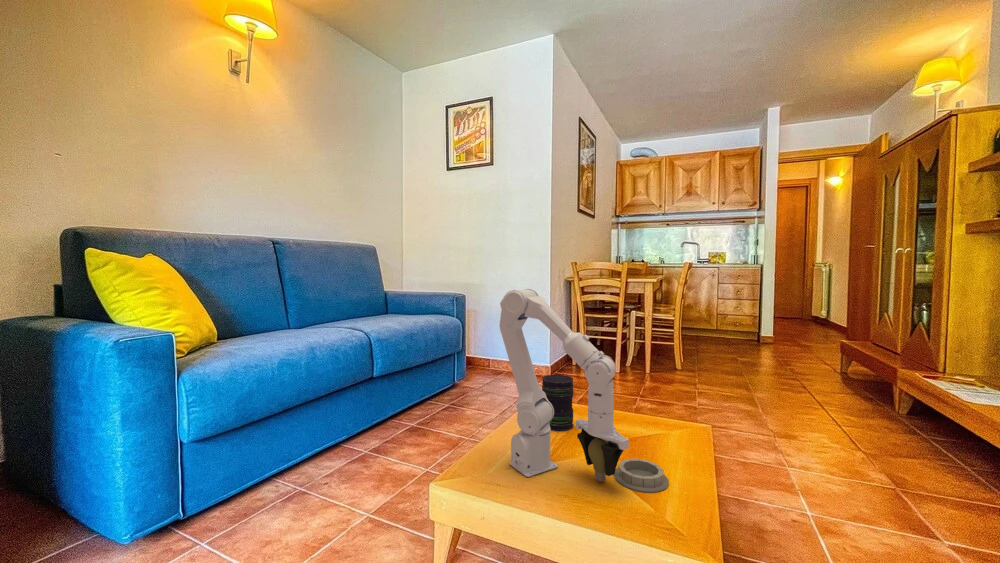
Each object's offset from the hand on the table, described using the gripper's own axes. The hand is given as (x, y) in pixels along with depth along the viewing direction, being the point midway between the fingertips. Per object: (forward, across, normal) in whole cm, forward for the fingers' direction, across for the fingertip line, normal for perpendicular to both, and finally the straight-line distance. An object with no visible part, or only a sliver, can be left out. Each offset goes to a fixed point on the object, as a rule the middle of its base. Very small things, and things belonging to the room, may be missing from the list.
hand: (600, 469), depth 92 cm
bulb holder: (+3, -4, -9) cm, 10 cm away
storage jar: (+3, +32, -14) cm, 35 cm away
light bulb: (+3, 0, 0) cm, 3 cm away
